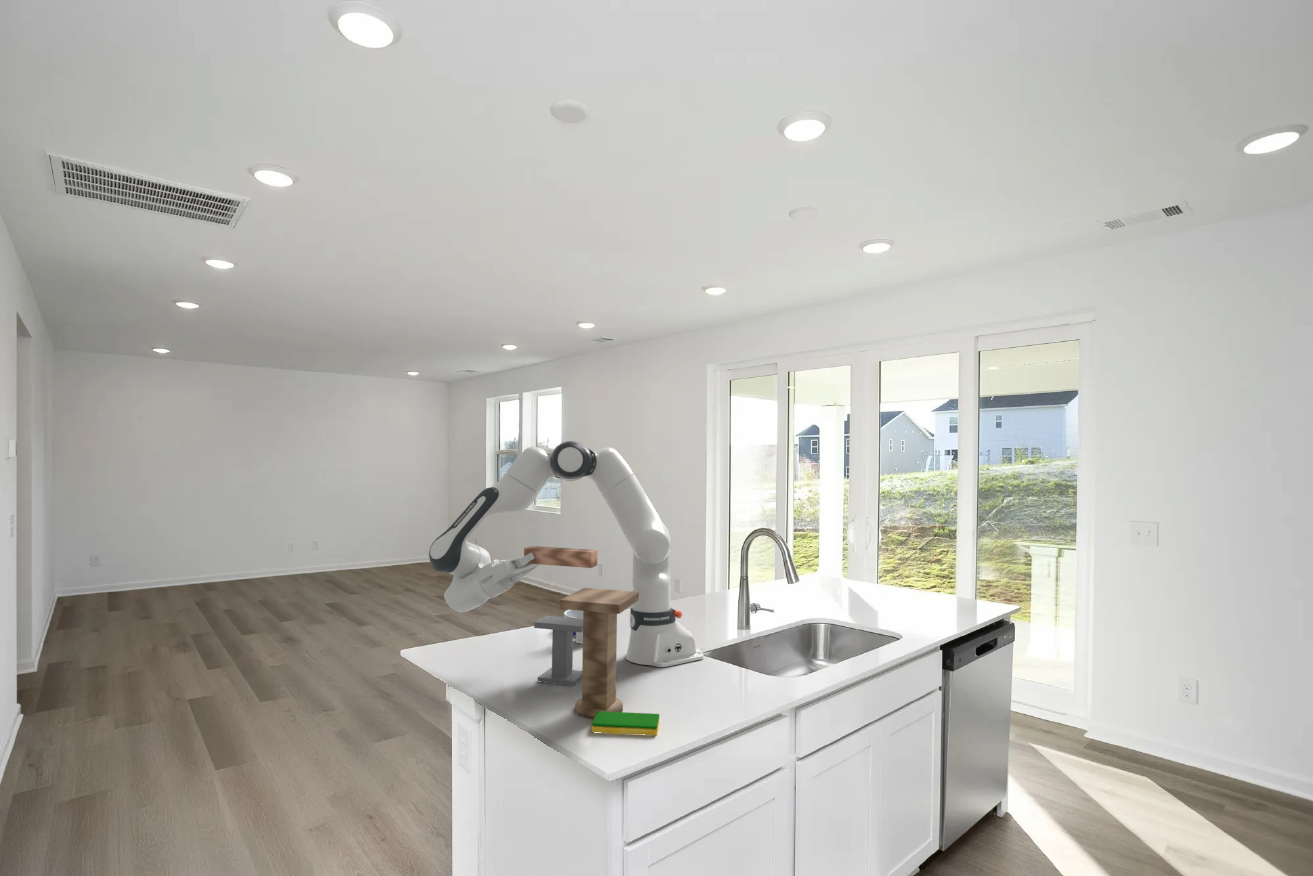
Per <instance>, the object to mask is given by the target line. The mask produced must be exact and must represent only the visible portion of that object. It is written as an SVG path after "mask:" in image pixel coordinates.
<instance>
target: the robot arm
mask: <svg viewBox="0 0 1313 876" xmlns="http://www.w3.org/2000/svg"><path fill="white" fill-rule="evenodd" d="M584 477H587V478H589V479H591V480H592V481H593V483H594V484H595V486H596V487H597V489H598V490H599V492H600V494H601V495H602V497H603V499H604V501H605V502H606V504H607V505H608V508H609V509H610V511H611V512H612V514H613V516H614V517H615V520H616V521H617V523H618V525H619V528H620V529H621V531H622V533H623V535H624V537H625V538H626V540H627V542H628V544H629V546H630V547H631V549H632V551H633V552H632V580H631V581H632V586H631V590H632V592H639V601H637V602H636V603H634V604H633V605H631V607H630V613H629V626H630V635H629V642H628V646H627V647H628V648H627V651H626V654H625V659H626V660H627V661H629V662H630V663H635V664H639V665H646V666H653V667H657V668H667V667H670V666H676V665H681V664H685V663H690V662H694V661H701V660H703V659H704V653H703V651H702V650H701V649H699V648H698V647H697V646H696V645H697V644H696V639H695V637H694V635H693V633H692V632H691V631H690V630H688V629H687V628H686V627H684V626H683V625H682V624H681V623H680V622H678V621H677V620H676V618H677V619H682V617H683V612H682V611H680V610H678V609H674V608H672V607H671V586H672V585H671V581H672V580H671V578H672V577H671V550H672V545H673V544H672V543H673V542H672V536H671V533H670V531H669V528H668V527H667V526H666V525H665V523H663V521H662V519H661V517H660V516H659V514H658V513H657V511H656V508H654V505H653V503H652V502H651V500H650V498H649V497H648V495H647V494H646V492H645V490H644V488H643V487H642V485H641V483H640V481H639V480H638V478H637V476H636V475H635V473H634V472H633V470H632V469H631V466H630V465H629V464H628V462H627V461H626V460H625V459H624V458H623V457H622V455H621V454H620V453H619V451H617V450H616V449H615V448H613V447H608V446H607V447H603V448H600V449H597V450H596V451H594V450H593V449H591V448H589V447H587V446H585V445H584V444H582V443H580V442H577V441H573V440H569V441H564V442H563V441H562V442H561V443H560V444H559V445H557V446H556V447H555V448H554V449H553V451H547V450H545V449H543V448H541V447H538V446H529V447H526V448H525V449H524V450H523V451H522V452H521V453H519V455H518V456H517V457H516V458H515V460H514V461H513V462H512V463H511V465H510V466H509V467H508V468H507V470H506V471H505V473H504V475H503V476H502V477H501V478H500V479H499V480H498V481H497V482H496V483H495V484H493V485H491V486H490V487H487V488H485V489H483V490H482V491H480V492H479V493H478V494H477V496H476V497H474V499H473V500H472V501H471V502H470V503H469V504H468V505H467V507H466V508H465V509H464V510H463V511H462V512H461V513H460V515H459V516H458V517H457V518H456V519H455V520H454V522H453V523H452V524H451V525H450V526H449V527H448V528H447V529H446V530H445V531H444V532H443V533H441V534H440V535H439V536H438V537H436V539H435V540H434V541H433V542H432V543H431V545H430V547H429V550H428V551H429V552H428V556H429V557H428V558H429V562H430V565H431V567H432V568H433V569H434V570H435V571H437V572H441V573H445V574H450V575H453V576H452V577H453V578H452V581H451V583H450V585H449V586H448V587H447V589H446V590H445V591H444V595H443V597H444V600H445V602H446V605H448V607H449V608H450V609H452V611H455V612H458V613H466V612H469V611H471V610H474V609H476V608H478V607H480V606H482V605H484V604H485V603H486V602H487V601H488V600H489V599H493V598H495V597H498V596H500V595H501V594H503V593H505V592H507V591H509V590H510V589H512V587H513V586H514V585H515V584H517V583H519V582H520V581H522V579H523V577H524V576H526V575H527V574H529V573H530V572H532V571H533V570H535V569H536V568H537V567H539V566H541V564H526V563H528V562H530V561H532V560H534V559H535V558H536V555H535V553H534V552H532V553H529V554H528V555H526V556H524V554H523V555H520V556H518V557H517V556H516V557H514V558H510V559H499V558H498V559H493V560H492V556H491V553H490V552H489V551H488V550H487V549H485V548H484V547H481V546H479V545H478V544H475V543H472V542H469V541H468V539H469V538H470V537H471V536H472V535H473V533H474V532H475V531H476V530H478V528H479V526H480V525H481V524H482V523H483V521H485V520H486V519H487V518H488V517H490V516H493V515H496V514H516V513H520V512H523V511H525V510H527V509H528V508H529V507H531V506H532V504H533V503H534V502H535V500H536V499H537V497H538V495H539V494H540V493H541V491H542V490H543V488H544V486H545V485H546V483H547V482H548V481H549V480H550V479H551V478H557V479H560V480H564V481H566V482H574V481H578V480H580V479H582V478H584Z"/></svg>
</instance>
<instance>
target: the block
mask: <svg viewBox="0 0 1313 876" xmlns="http://www.w3.org/2000/svg"><path fill="white" fill-rule="evenodd" d="M532 552H534V553H535V555H536V558H535V559H534V560H532V561H530V562H528V563H526V564H540V566H541V565H545V566H557V567H558V566H559V567H571V568H583V569H584V568H585V569H586V568H587V569H592V568H594V567H598V549H589V548H587V549H584V548H569V547H568V548H567V547H557V546H555V547H554V546H553V547H552V546H540V545H539V546H538V545H536V546H535V545H530V546H527V547H524V548H523V555H524V556H526V555H528V554H529V553H532Z"/></svg>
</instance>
